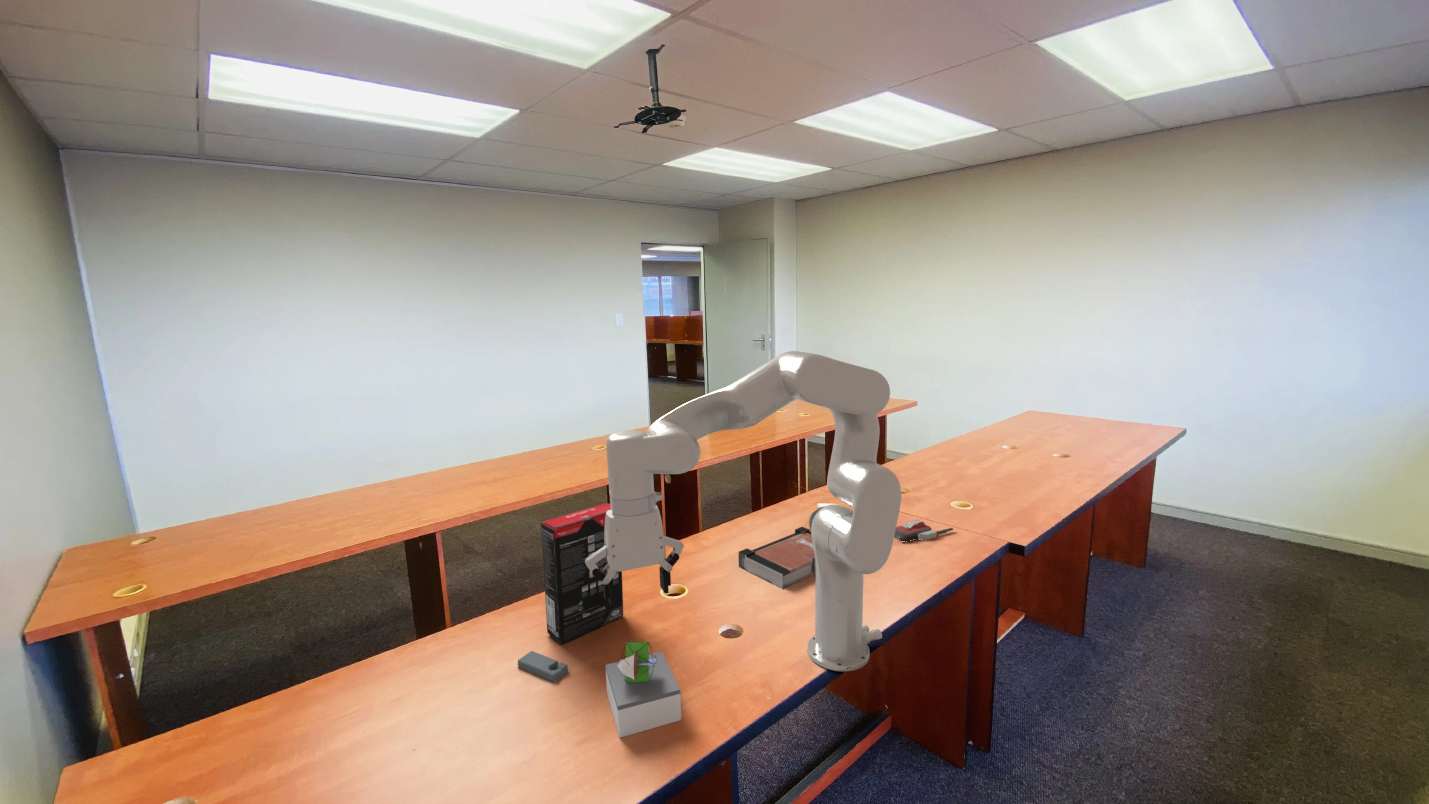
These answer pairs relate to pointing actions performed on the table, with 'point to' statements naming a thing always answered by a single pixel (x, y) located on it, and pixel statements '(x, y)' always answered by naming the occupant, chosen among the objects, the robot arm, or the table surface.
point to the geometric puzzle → (636, 662)
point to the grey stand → (643, 698)
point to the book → (782, 559)
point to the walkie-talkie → (917, 531)
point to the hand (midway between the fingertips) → (638, 595)
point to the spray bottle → (817, 511)
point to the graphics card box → (576, 575)
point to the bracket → (543, 666)
